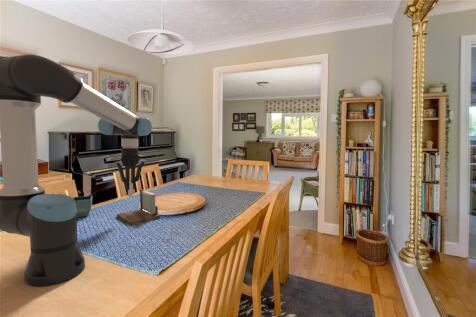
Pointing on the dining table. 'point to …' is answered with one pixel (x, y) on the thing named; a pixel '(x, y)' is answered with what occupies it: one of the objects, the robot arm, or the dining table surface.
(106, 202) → the dining table surface
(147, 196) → the gate
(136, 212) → the board
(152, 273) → the dining table surface
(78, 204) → the flower pot
